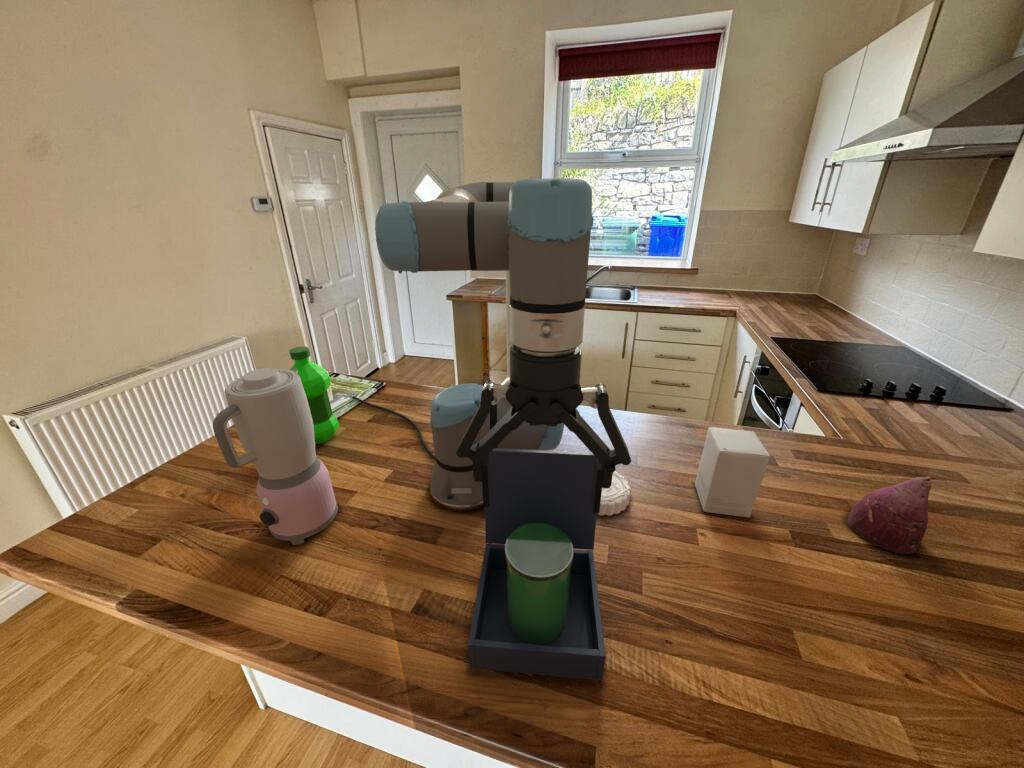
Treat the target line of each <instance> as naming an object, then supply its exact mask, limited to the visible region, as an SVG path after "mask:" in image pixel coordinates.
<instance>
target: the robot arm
mask: <svg viewBox="0 0 1024 768" xmlns="http://www.w3.org/2000/svg"><path fill="white" fill-rule="evenodd" d="M375 214H376V215H375V222H374V231H375V242H376V247H377V251H378V254H379V255H378V256H379V258H380V260H381V262H382V264H383V265H384V266H385V268H387V269H388V270H390V271H391V272H392V271H393V272H411V273H413V274H418V272H419V273H420V272H462V271H463V272H465V271H472V272H474V271H475V272H495V271H497V272H500V271H501V272H505V317H506V318H505V319H506V320H505V323H506V326H505V327H506V328H505V329H506V378H504V380H503V381H502V382H500V384H496V383H495V381H494V380H491V379H487V380H485V382H484V385H482V384H478V383H473V382H472V383H471V382H469V383H468V382H467V383H461V384H456V385H453V386H450V387H446V388H445V389H444V390H442V391H440V392H439V393H437V394H436V395H435V396H434V397H433V398H432V401H431V403H430V408H429V409H430V418H429V423H430V426H431V432H432V441H433V442H432V443H433V450H434V453H433V452H432V451H431V450H430V449H429V447H428V445H427V444H426V442H425V441H424V438H423V435H422V432H421V429H420V428H419V427H418V425H417V424H416V423H415V422H414V421H413V420H411V419H410V418H409V417H407V416H406V415H404V414H402V413H400V412H398V411H394V410H391V409H390V408H386V407H383V406H379V405H376V404H372V403H370V402H368V401H365V400H362V399H361V398H358V397H357V396H354V395H352V396H351V398H352V399H353V400H356V401H358V402H360V403H362V404H364V405H366V406H369V407H371V408H375V409H379V410H382V411H385V412H387V413H390V414H393V415H396V416H398V417H400V418H402V419H404V420H405V421H407V422H408V423H410V424H411V426H413V428H414V429H415V430H416V432H417V434H418V437H419V440H420V443H421V445H422V447H423V448H424V450H425V451H426V452H427V453H428V455H429V457H431V458H432V459H433V460H434V464H433V469H432V471H431V475H430V479H429V493H430V497H431V499H432V500H433V502H434V503H435V504H436V505H438V506H439V507H441V508H443V509H444V510H447V511H451V512H459V513H460V512H461V513H463V512H471V511H475V510H479V509H481V508H485V507H489V506H490V500H491V495H492V478H491V451H492V450H493V449H494V448H500V449H523V450H545V451H555V450H556V449H557V448H558V447H559V446H560V444H561V441H562V438H563V434H564V430H565V428H567V429H568V431H570V432H571V433H573V434H574V435H575V436H576V437H577V438H578V440H580V441H581V443H582V444H583V445H584V446H585V447H586V448H587V450H588V451H589V452H590V453H592V454H593V455H594V456H595V463H594V473H593V483H592V493H591V502H592V509H593V513H599V511H600V502H601V493H602V488H610V486H611V483H612V475H613V472H614V471H615V472H616V469H617V468H616V466H618V465H623V466H628V465H630V464H631V463H632V457H631V454H630V452H629V448H628V446H627V444H626V442H625V441H626V440H625V439H624V437H623V435H622V432H621V430H620V428H619V426H618V424H617V421H616V419H615V417H614V415H613V413H612V410H611V408H610V400H609V399H610V398H609V392H608V389H607V387H606V385H605V383H603V382H599V383H596V385H595V386H594V387H585V388H582V387H581V384H580V382H581V369H582V368H581V367H582V357H583V356H582V355H583V350H582V348H581V347H580V345H582V343H583V339H584V325H585V311H586V295H587V284H588V283H587V282H588V271H589V270H588V269H589V258H590V257H589V255H590V246H591V245H590V244H591V235H592V228H593V226H594V216H593V188H592V185H591V183H589V182H588V180H586V179H584V178H583V179H582V178H568V177H567V178H565V177H564V178H563V177H562V178H553V177H551V178H522V179H518V180H516V181H498V182H497V181H494V182H493V181H492V182H491V181H489V182H487V181H479V182H477V181H476V182H471V183H466V184H463V185H459V186H456V187H453V188H449V189H446V190H444V191H443V192H441V193H440V194H439V195H437V197H436V198H435V199H432V200H428V201H413V202H411V201H406V200H404V201H403V200H402V201H401V202H386V203H383V204H382V205H380V206H379V207H378V209H377V212H376V213H375ZM583 401H586V402H587V403H588V405H589V406H590V408H592V409H595V410H597V414H598V417H599V420H600V421H601V424H602V426H603V427H604V430H605V433H606V434H607V437H608V438H609V441H610V442H611V446H612V447H613V449H610V447H609V446H608V445H607V444H606V443H605V441H603V440H602V438H601V437H600V436H599V435H598V434H597V432H595V430H594V429H593V428H592V426H590V424H589V423H588V422H587V421H586V420H585V419H584V417H583V416H581V414H580V412H579V410H578V409H577V408H579V406H580V405H581V404H582V403H583Z"/></svg>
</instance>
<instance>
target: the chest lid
mask: <svg viewBox="0 0 1024 768" xmlns="http://www.w3.org/2000/svg"><path fill="white" fill-rule="evenodd" d="M594 463H595V456H594V455H593V454H592V452H591V451H589V452H588V451H566V450H548V451H545V450H523V449H500V448H494V449H493V450H492V451H491V478H492V495H491V500H490V506H489V507H484V528H485V529H484V530H485V534H484V535H485V536H484V537H485V544H499V545H505V543H506V540H507V538H508V536H509V535H510V534H511V532H512V531H513V530H515V529H516V528H518V527H519V526H522V525H524V524H527V523H534V522H541V523H547V524H551V525H553V526H556V527H558V528H559V529H561V530H562V531H563V532H565V533H566V534H567V536H568V537H569V538H570V540H571V542H572V544H573V549H578V550H593V551H594V547H595V538H596V527H597V516H598V514H597V513H593V509H592V502H591V493H592V483H593V473H594Z"/></svg>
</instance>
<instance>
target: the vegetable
mask: <svg viewBox="0 0 1024 768" xmlns="http://www.w3.org/2000/svg"><path fill="white" fill-rule="evenodd" d="M931 479H932V476H918V477H913V478H911V479H908V480H905V481H902V482H900V483H897V484H893V485H888V486H883V487H879V488H877V489H875V490H872V491H871V492H869V493H867V494H865V495H864V496H863V497H862V498H860V499H859V500H858V501H857V502H856V503H855V504H854V505H853V507H852V508H851V509H850V512H849V515H848V518H847V525H848V527H849V528H850V529H851V530H852V531H853V532H854V533H855V534H857V535H858V536H859V537H860V538H862V539H863V540H865V541H867V542H869V543H871V544H872V545H874V546H876V547H879V548H882V549H885V550H887V551H890V552H893V553H897V554H900V555H901V554H902V555H911V554H914V553H916V551H917V550H918V547H919V546H920V544H921V542H922V541H923V538H924V535H925V533H926V531H927V528H928V522H929V512H928V509H929V508H928V506H929V505H928V504H929V495H930V491H931V489H932V481H931Z"/></svg>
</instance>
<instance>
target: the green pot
mask: <svg viewBox="0 0 1024 768" xmlns="http://www.w3.org/2000/svg"><path fill="white" fill-rule="evenodd" d="M504 545H505V557H506V573H507V618H508V623H509V625H510V627H511V629H512V631H513V632H514V633H515V634H516V635H517V636H518V637H519V638H520V639H522V640H523V641H525V642H528V643H531V644H546V643H549V642H551V641H553V640H555V639H556V638H558V637H559V636H560V635H561V633H562V632H563V630H564V628H565V625H566V621H567V610H568V598H569V586H570V574H571V564H572V561H573V556H574V549H573V544H572V542H571V540H570V538H569V537H568V536H567V534H566V533H565V532H563V531H562V530H561V529H559V528H558V527H556V526H553V525H551V524H547V523H541V522H534V523H527V524H524V525H522V526H519V527H518V528H516V529H515V530H513V531H512V532H511V534H510V535H509V536H508V538H507V540H506V543H505V544H504Z"/></svg>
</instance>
